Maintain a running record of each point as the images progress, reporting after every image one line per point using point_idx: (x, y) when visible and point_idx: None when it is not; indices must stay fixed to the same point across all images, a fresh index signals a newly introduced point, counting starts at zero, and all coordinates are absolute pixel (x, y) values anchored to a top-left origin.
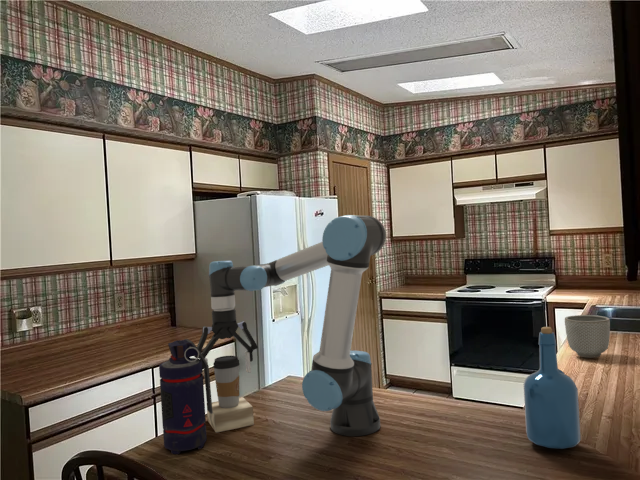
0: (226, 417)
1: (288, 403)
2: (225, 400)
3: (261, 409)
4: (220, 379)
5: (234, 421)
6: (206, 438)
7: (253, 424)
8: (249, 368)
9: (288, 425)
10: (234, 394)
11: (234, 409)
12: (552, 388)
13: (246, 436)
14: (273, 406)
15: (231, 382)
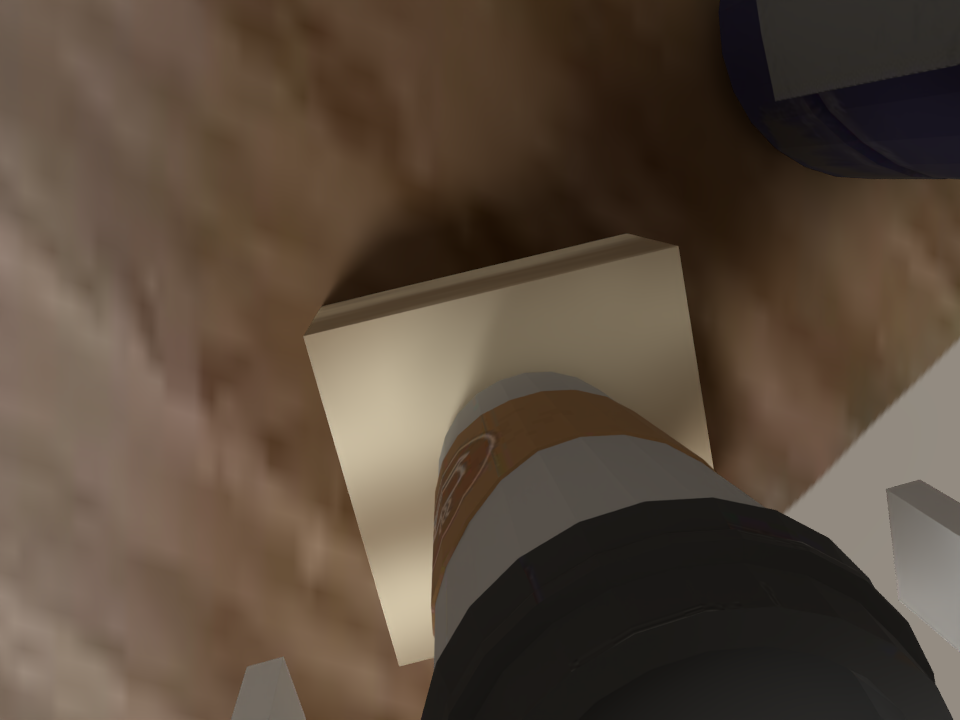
0: (559, 264)
1: (14, 708)
2: (587, 388)
3: (251, 632)
4: (719, 476)
5: (484, 275)
6: (722, 1)
7: (324, 306)
8: (251, 710)
9: (16, 179)
10: (494, 414)
11: (488, 314)
12: None
13: (389, 49)
14: (148, 673)
15: (549, 441)
